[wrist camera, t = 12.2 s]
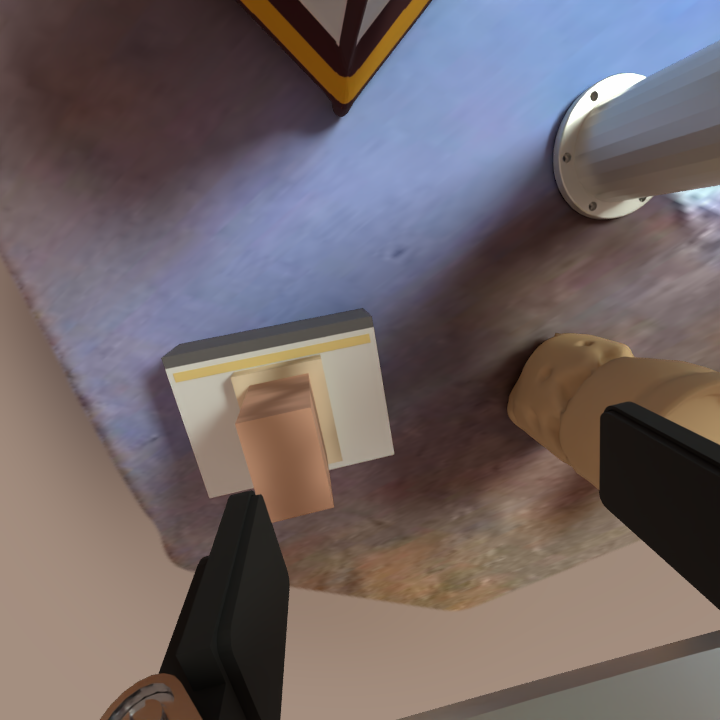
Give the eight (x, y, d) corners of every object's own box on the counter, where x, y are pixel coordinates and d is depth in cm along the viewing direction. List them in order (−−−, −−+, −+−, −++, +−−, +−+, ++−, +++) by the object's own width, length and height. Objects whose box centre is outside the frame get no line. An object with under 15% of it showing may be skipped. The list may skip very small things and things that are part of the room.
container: (601, 413, 46) (782, 508, 29) (505, 444, 45) (633, 561, 28) (595, 314, 42) (798, 355, 25) (490, 345, 41) (627, 411, 24)
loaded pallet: (320, 354, 33) (327, 389, 25) (341, 452, 36) (354, 514, 28) (233, 372, 33) (210, 414, 24) (262, 471, 36) (250, 540, 27)
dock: (362, 308, 38) (372, 316, 33) (383, 431, 42) (394, 454, 37) (179, 344, 36) (160, 358, 31) (220, 469, 40) (209, 499, 35)
